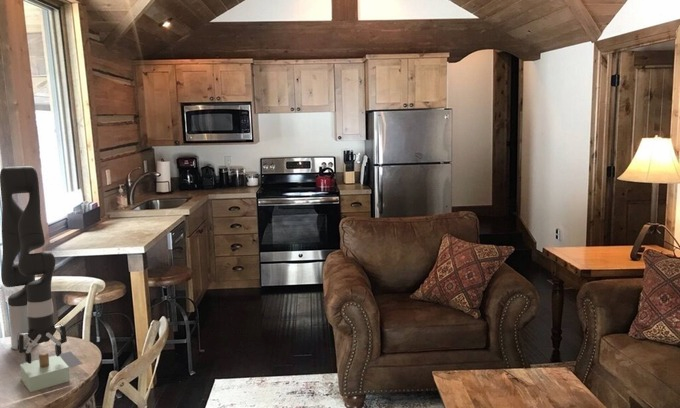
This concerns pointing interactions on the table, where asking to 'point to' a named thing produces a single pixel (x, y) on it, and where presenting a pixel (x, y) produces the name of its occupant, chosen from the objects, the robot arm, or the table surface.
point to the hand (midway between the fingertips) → (43, 359)
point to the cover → (44, 372)
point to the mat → (70, 359)
